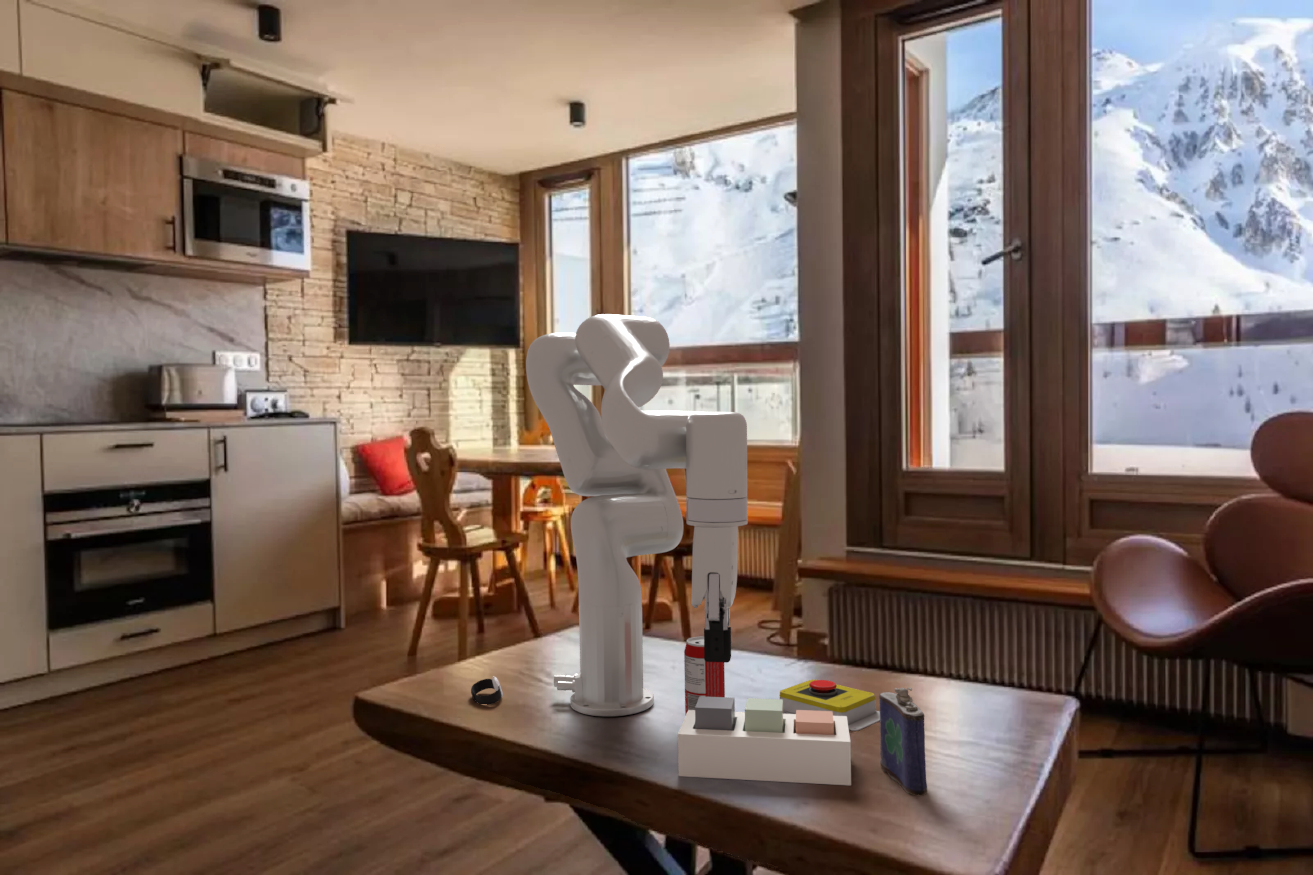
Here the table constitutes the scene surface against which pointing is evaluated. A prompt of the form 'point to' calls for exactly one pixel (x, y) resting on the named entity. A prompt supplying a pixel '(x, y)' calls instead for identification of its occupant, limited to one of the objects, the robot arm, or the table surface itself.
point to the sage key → (764, 715)
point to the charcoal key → (715, 713)
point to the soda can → (701, 674)
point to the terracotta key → (814, 722)
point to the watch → (487, 684)
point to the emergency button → (832, 702)
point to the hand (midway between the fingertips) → (717, 660)
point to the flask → (903, 741)
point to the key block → (765, 753)
